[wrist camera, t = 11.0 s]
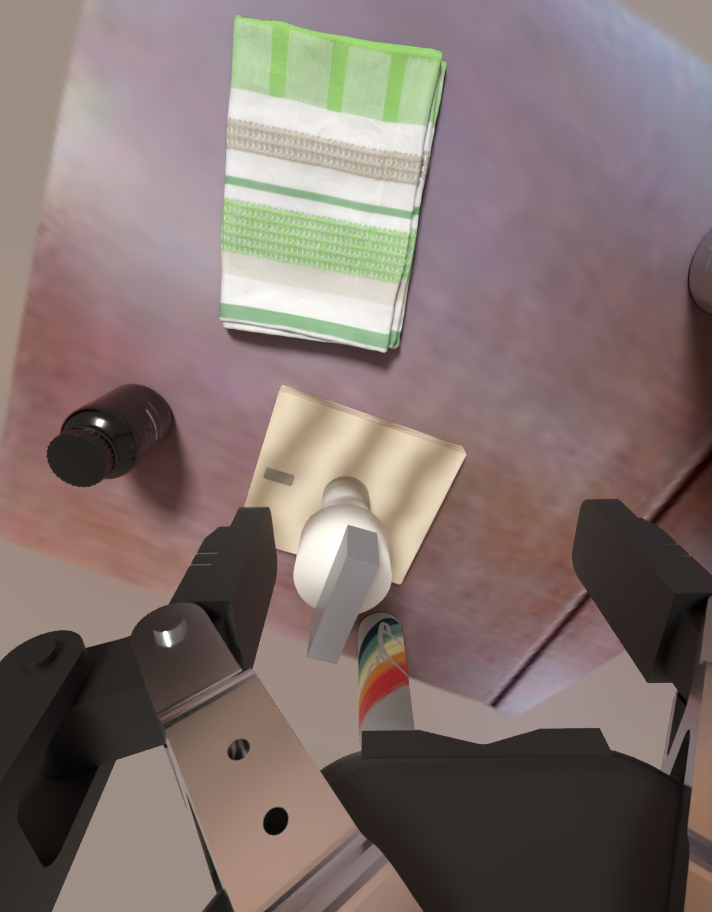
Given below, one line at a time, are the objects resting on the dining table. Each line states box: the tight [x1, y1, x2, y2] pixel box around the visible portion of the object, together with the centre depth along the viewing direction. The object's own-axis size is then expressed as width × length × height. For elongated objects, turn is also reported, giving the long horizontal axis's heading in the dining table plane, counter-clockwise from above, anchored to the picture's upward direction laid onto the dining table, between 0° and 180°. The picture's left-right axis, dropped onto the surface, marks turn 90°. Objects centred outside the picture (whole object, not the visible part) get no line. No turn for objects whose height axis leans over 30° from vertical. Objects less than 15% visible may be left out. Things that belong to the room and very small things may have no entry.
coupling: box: [294, 504, 392, 664], centre depth 38 cm, size 10×8×9 cm
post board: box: [244, 385, 466, 585], centre depth 47 cm, size 20×18×10 cm
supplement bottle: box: [47, 384, 172, 487], centre depth 42 cm, size 7×7×12 cm
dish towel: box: [219, 15, 447, 353], centre depth 39 cm, size 17×23×4 cm
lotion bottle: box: [358, 613, 414, 747], centre depth 51 cm, size 6×6×20 cm
